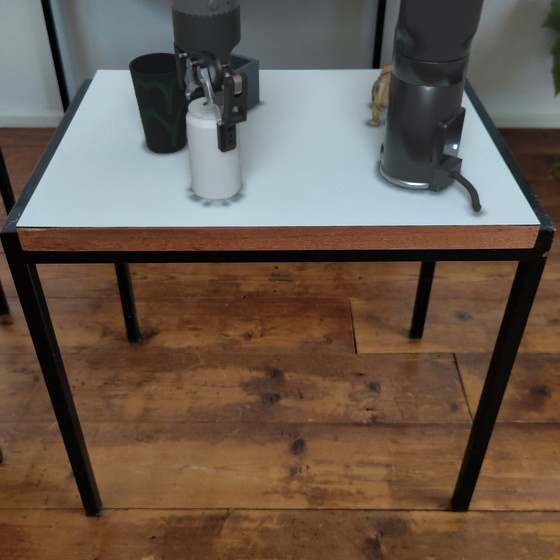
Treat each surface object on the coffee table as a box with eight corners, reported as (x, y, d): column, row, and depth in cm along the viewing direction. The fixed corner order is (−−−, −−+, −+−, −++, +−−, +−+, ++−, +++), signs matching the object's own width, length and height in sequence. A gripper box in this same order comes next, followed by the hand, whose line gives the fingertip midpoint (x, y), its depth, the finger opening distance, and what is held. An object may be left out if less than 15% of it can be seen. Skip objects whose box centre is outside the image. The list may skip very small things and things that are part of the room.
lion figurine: (406, 137, 106) (413, 78, 100) (369, 136, 106) (374, 77, 101) (399, 94, 117) (406, 39, 112) (366, 93, 118) (371, 38, 112)
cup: (129, 151, 102) (118, 70, 95) (155, 128, 108) (145, 49, 100) (178, 161, 100) (170, 78, 93) (202, 136, 106) (196, 57, 98)
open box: (259, 103, 115) (259, 60, 110) (217, 128, 108) (215, 84, 104) (207, 86, 119) (204, 45, 115) (164, 110, 113) (159, 67, 108)
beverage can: (244, 179, 97) (241, 95, 89) (237, 205, 92) (234, 118, 84) (197, 177, 97) (190, 92, 90) (188, 203, 92) (180, 116, 85)
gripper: (269, 13, 76) (269, 154, 87) (205, -23, 85) (212, 108, 96) (205, 26, 73) (214, 171, 83) (146, -12, 82) (160, 122, 93)
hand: (213, 137), depth 90 cm, fingers closed on beverage can, 6 cm apart
